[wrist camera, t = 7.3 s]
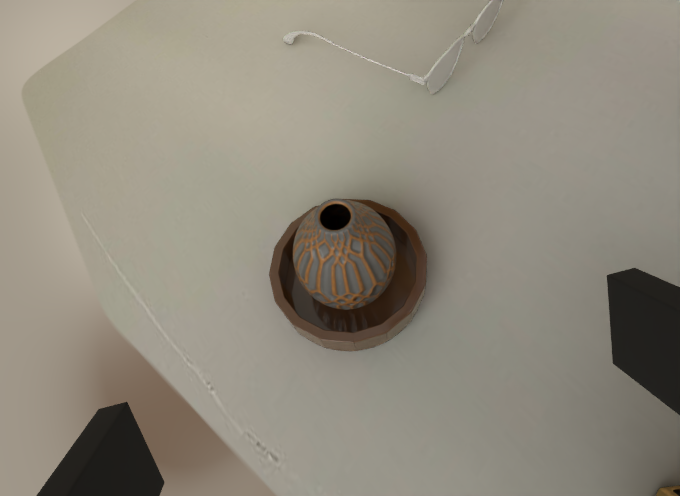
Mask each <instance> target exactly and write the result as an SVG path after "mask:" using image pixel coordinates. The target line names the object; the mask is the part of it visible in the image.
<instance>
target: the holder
mask: <svg viewBox="0 0 680 496" xmlns="http://www.w3.org/2000/svg"><path fill="white" fill-rule="evenodd" d="M343 200H350V201H355V202H359V203H362V204H364V205H366V206H368V207H370V208H371V209H373V210H374V211H375V212H376V213H378V214H379V215H380V216H381V218H382V219H383V220H384V221H385V223H386V224H387V225H388V227H389V229H390V231H391V233H392V235H393V238H394V241H395V246H396V266H395V270H394V274H393V277H392V279H391V282H390V283H389V285H388V287H387V288H386V290H385V291H384V292H383V293H382V294H381V295H380V296H379V297H378V298H377V299H376V300H374V301H373V302H371V303H370V304H368V305H365V306H363V307H360V308H356V309H348V310H344V309H336V308H332V307H329V306H326V305H324V304H322V303H320V302H319V301H317V300H316V299H314V298H313V297H312V296H311V295H310V294H309V293H308V292H307V291H306V289H305V288H304V287H303V285H302V284H301V282H300V280H299V278H298V276H297V274H296V271H295V268H294V263H293V244H294V239H295V235H296V232H297V230H298V228H299V226H300V224H301V223H302V221H303V220H304V219H305V217H306V216H307V215H308V214H309V213H310V212H312V211H313V210H314V209H316V208H317V207H319V206H320V205H319V206H316V207H314V208H312V209H310V210H309V211H308V212H306V213H305V214H303V215H302V216H301V217H299V218H298V219H296V220H295V221H294V222H292V223H291V224H290V225H289V227H288V228H287V230H286V231H285V233H284V234H283V236H282V237H281V239H280V240H279V242H278V243H277V245H276V246H275V249H274V254H273V258H272V263H271V268H270V273H269V276H270V281H271V285H272V290H273V294H274V299H275V302H276V304H277V305H278V306H279V308H280V309H281V311H282V312H283V313H284V315H285V316H286V317H287V319H288V320H289V321H290V322H291V324H292V325H293V326H294V328H295V329H296V330H297V332H298V333H299V334H300V335H302V336H304V337H306V338H307V339H309V340H310V341H312V342H314V343H316V344H318V345H320V346H322V347H324V348H329V349H333V350H340V351H358V350H364V349H368V348H372V347H375V346H378V345H380V344H383V343H384V342H387V341H388V340H390V339H392V338H393V337H394V336H396V335H397V334H398V333H400V332H401V331H402V330H403V329H404V328H405V327H406V326H407V325H408V324H409V323H410V322H411V321H412V319H413V317H414V315H415V313H416V312H417V310H418V307H419V305H420V303H421V301H422V299H423V297H424V292H425V286H426V265H427V256H426V252H425V250H424V248H423V245H422V243H421V241H420V238H419V236H418V234H417V231H416V230H415V228H414V227H412V226H411V225H410V224H409V223H408V222H407V221H406V220H405V219H404V218H403V217H402V216H401V215H400V214H399V213H398V212H397V211H395V210H393V209H391V208H388V207H386V206H383V205H381V204H378V203H376V202H373V201H371V200H356V199H343Z"/></svg>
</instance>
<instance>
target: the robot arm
mask: <svg viewBox="0 0 680 496" xmlns="http://www.w3.org/2000/svg"><path fill="white" fill-rule="evenodd" d="M607 283H608V297H609V312H610V327H611V342H612V357H613V364H614V365H616V366H617V367H618V368H620V369H621V370H622V371H623V372H625V373H626V374H627V375H629V376H630V377H631V378H632V379H634V380H635V381H636V382H638V383H639V384H640V385H641V386H643V387H644V388H645V389H647V390H648V391H649V392H651V393H652V394H653V395H654V396H656V397H657V398H658V399H660V400H661V401H662V402H663V403H665V404H666V405H667V406H669V407H670V408H671V409H672V410H674V411H675V412H676V413H678V414H679V415H680V287H677V286H675V285H673V284H671V283H668V282H666V281H664V280H661V279H659V278H657V277H655V276H652V275H650V274H648V273H645V272H643V271H641V270H639V269H636V268H632V269H629V270H625V271H621V272H617V273H613V274H610V275H607ZM163 485H164V480H163V478H162V476H161V474H160V472H159V470H158V467H157V465H156V463H155V461H154V459H153V457H152V455H151V453H150V450H149V448H148V446H147V444H146V442H145V440H144V437H143V435H142V433H141V431H140V429H139V427H138V424H137V422H136V420H135V418H134V416H133V414H132V412H131V409H130V407H129V405H128V403H127V402H125V403H121V404H117V405H113V406H109V407H105V408H102V409H99V410H98V411H97V412H96V414H95V415H94V417H93V418H92V419H91V421H90V422H89V423H88V425H87V426H86V428H85V429H84V431H83V432H82V433H81V435H80V436H79V437H78V439H77V440H76V442H75V443H74V444H73V446H72V447H71V449H70V450H69V451H68V453H67V454H66V455H65V457H64V458H63V460H62V461H61V462H60V464H59V465H58V467H57V468H56V469H55V471H54V472H53V474H52V475H51V476H50V478H49V479H48V481H47V482H46V483H45V485H44V486H43V487H42V489H41V490H40V492H39V493H38V494H37V496H159V495H160V493H161V490H162V487H163Z"/></svg>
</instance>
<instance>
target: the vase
mask: <svg viewBox="0 0 680 496" xmlns="http://www.w3.org/2000/svg"><path fill="white" fill-rule="evenodd" d="M293 263H294V268H295V271H296V274H297V276H298V278H299V280H300V282H301V284H302V285H303V287H304V288H305V289H306V291H307V292H308V293H309V294H310V295H311V296H312V297H313V298H314V299H316V300H317V301H319V302H320V303H322V304H324V305H326V306H329V307H332V308H336V309H344V310H348V309H356V308H360V307H363V306H365V305H368V304H370V303H371V302H373V301H374V300H376V299H377V298H378V297H379V296H380V295H381V294H382V293H383V292H384V291H385V290H386V288H387V287H388V285H389V283H390V282H391V279H392V277H393V274H394V270H395V266H396V246H395V241H394V238H393V235H392V233H391V231H390V229H389V227H388V225H387V224H386V223H385V221H384V220H383V219H382V218H381V216H380V215H379V214H378V213H376V212H375V211H374V210H373V209H371V208H370V207H368V206H366V205H364V204H362V203H359V202H355V201H350V200H343V199H331V200H328V201H326V202H324V203H322V204H321V205H320V206H319V207H317V208H316V209H314V210H313V211H312V212H310V213H309V214H308V215H307V216H306V217H305V219H304V220H303V221H302V223H301V224H300V226H299V228H298V230H297V232H296V235H295V239H294V244H293Z"/></svg>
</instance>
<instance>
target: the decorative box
mask: <svg viewBox="0 0 680 496" xmlns="http://www.w3.org/2000/svg"><path fill="white" fill-rule="evenodd" d="M656 496H680V486H671V487H664V488H660V489H659V490H658V492H657V494H656Z"/></svg>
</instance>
